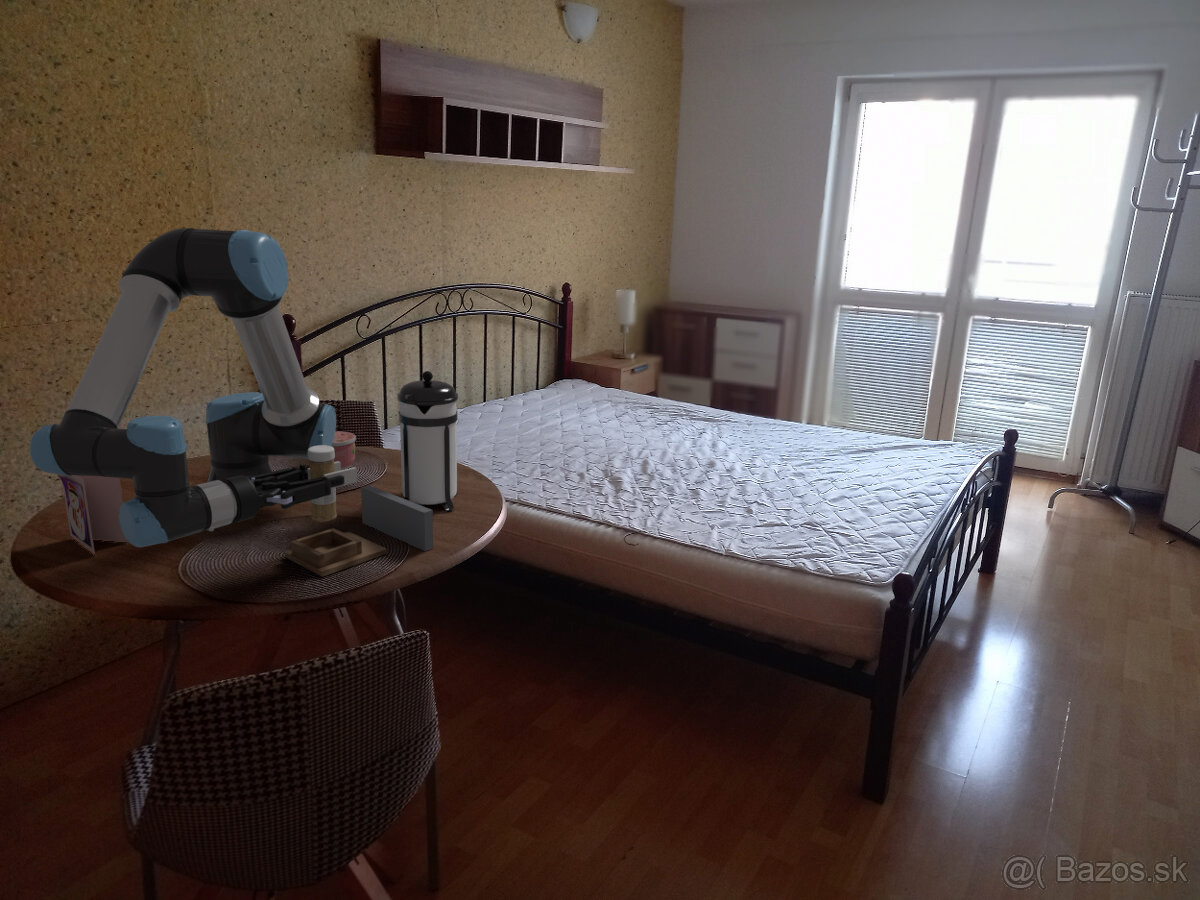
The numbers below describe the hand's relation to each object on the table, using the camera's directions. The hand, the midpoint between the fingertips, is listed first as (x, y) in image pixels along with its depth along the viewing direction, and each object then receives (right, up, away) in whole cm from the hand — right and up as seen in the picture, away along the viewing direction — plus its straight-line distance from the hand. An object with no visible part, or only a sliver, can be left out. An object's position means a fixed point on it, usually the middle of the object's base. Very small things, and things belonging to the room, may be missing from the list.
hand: (347, 471), depth 154 cm
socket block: (-3, -16, +2) cm, 17 cm away
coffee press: (+8, -8, +33) cm, 35 cm away
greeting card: (-48, -14, +4) cm, 50 cm away
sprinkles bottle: (-4, -9, -2) cm, 10 cm away
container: (-19, -1, +52) cm, 55 cm away
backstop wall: (+6, -13, +13) cm, 19 cm away
